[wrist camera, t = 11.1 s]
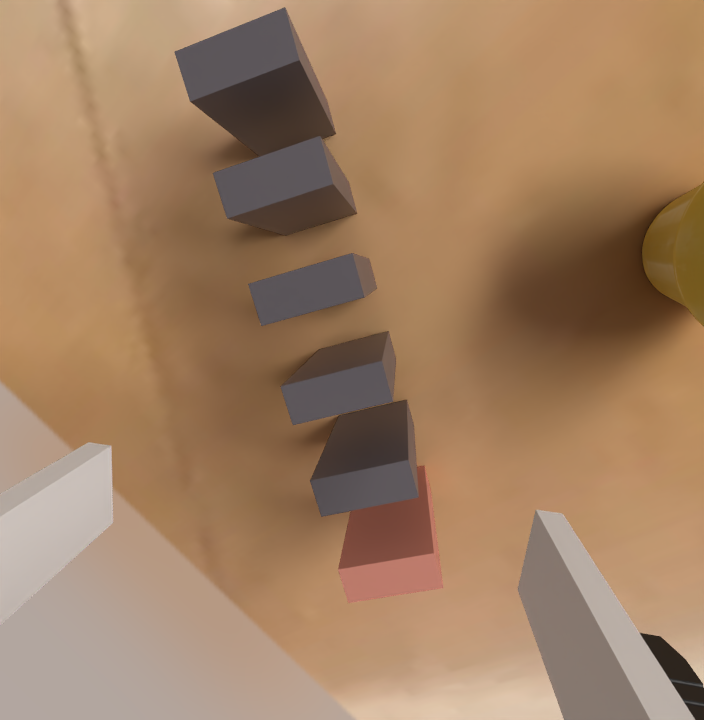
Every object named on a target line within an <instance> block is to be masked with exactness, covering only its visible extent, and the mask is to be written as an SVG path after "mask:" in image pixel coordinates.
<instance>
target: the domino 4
mask: <svg viewBox="0 0 704 720" xmlns="http://www.w3.org/2000/svg"><path fill="white" fill-rule="evenodd" d="M395 367H396V357H395V353H394V349H393V346H392V342H391V338H390V334H389V331H387V332H383V333H380V334H376V335H372V336H368V337H364V338H361V339H357V340H353V341H349V342H345V343H342V344H338V345H334V346H330V347H326V348H323V349H319V350H318V351H317V352H316V353H315V354H314V355H313V356H312V357H311V358H310V359H309V360H308V361H307V362H306V363H305V364H303V365H302V366H301V367H300V368H299V369H298V370H297V371H296V372H295V373H294V374H293V375H292V376H291V377H290V378H289V379H288V380H287V381H286V382H285V383H284V384H283V385H282V386H281V389H282V393H283V396H284V399H285V402H286V405H287V408H288V412H289V415H290V418H291V421H292V424H293V425H296V424H300V423H304V422H308V421H313V420H317V419H321V418H325V417H330V416H334V415H338V414H342V413H346V412H351V411H355V410H359V409H363V408H368V407H372V406H376V405H380V404H385V403H389V402H393V394H394V380H395Z"/></svg>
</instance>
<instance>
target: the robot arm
mask: <svg viewBox="0 0 704 720" xmlns="http://www.w3.org/2000/svg"><path fill="white" fill-rule="evenodd" d="M112 496H113V495H112V453H111V446H110V445H103V444H96V443H90V442H88V443H87V444H85V445H83V446H81V447H80V448H78V449H76V450H74V451H73V452H71V453H69V454H68V455H66V456H64V457H63V458H61V459H59V460H57V461H56V462H54V463H52V464H50V465H49V466H47V467H45V468H44V469H42V470H40V471H38V472H37V473H35V474H33V475H32V476H30V477H28V478H26V479H25V480H23V481H21V482H19V483H18V484H16V485H14V486H13V487H11V488H9V489H7V490H6V491H4V492H2V493H0V625H1V624H2V623H3V622H4V621H6V620H7V619H8V618H9V617H10V616H11V615H12V614H13V613H14V612H16V611H17V610H18V609H19V608H20V607H21V606H22V605H23V604H24V603H25V602H27V601H28V600H29V599H30V598H31V597H32V596H33V595H34V594H35V593H36V592H38V591H39V590H40V589H41V588H42V587H43V586H44V585H45V584H46V583H47V582H48V581H50V580H51V579H52V578H53V577H54V576H55V575H56V574H57V573H58V572H59V571H60V570H62V569H63V568H64V567H65V566H66V565H67V564H68V563H69V562H70V561H71V560H73V559H74V558H75V557H76V556H77V555H78V554H79V553H80V552H81V551H83V550H84V549H85V548H86V547H87V546H88V545H89V544H90V543H91V542H92V541H93V540H95V539H96V538H97V537H98V536H99V535H100V534H101V533H102V532H103V531H104V530H106V529H107V528H108V527H109V526H110V525H111V524H112V523H113V499H112V498H113V497H112ZM518 592H519V595H520V597H521V600H522V603H523V606H524V609H525V611H526V614H527V617H528V620H529V623H530V625H531V628H532V631H533V634H534V637H535V639H536V642H537V645H538V648H539V651H540V653H541V656H542V659H543V662H544V665H545V667H546V670H547V673H548V676H549V679H550V681H551V684H552V687H553V690H554V693H555V695H556V698H557V701H558V704H559V707H560V709H561V712H562V715H563V718H564V720H704V688H703V683H702V682H701V680H700V679H699V678H698V676H697V675H696V673H695V672H694V671H693V669H692V668H691V666H690V665H689V664H688V662H687V661H686V660H685V658H683V657H682V656H681V655H680V654H679V653H678V652H677V651H676V650H675V649H674V648H672V647H671V646H670V645H669V644H668V643H667V642H666V641H665V640H664V639H663V638H661V637H660V636H654V635H649V634H643V633H639V631H638V630H637V628H636V627H635V625H634V624H633V622H632V621H631V619H630V617H629V616H628V614H627V613H626V611H625V610H624V608H623V607H622V605H621V603H620V602H619V600H618V599H617V597H616V596H615V594H614V593H613V591H612V589H611V588H610V586H609V585H608V583H607V582H606V580H605V579H604V577H603V575H602V574H601V572H600V571H599V569H598V568H597V566H596V565H595V563H594V561H593V560H592V558H591V557H590V555H589V554H588V552H587V551H586V549H585V548H584V546H583V544H582V543H581V541H580V540H579V538H578V537H577V535H576V534H575V532H574V530H573V529H572V527H571V526H570V524H569V523H568V521H567V520H566V518H565V516H564V515H563V514H562V513H555V512H548V511H542V510H536V511H535V515H534V520H533V524H532V529H531V533H530V537H529V542H528V546H527V551H526V555H525V559H524V564H523V568H522V573H521V577H520V581H519V586H518Z"/></svg>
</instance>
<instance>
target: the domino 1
mask: <svg viewBox="0 0 704 720" xmlns="http://www.w3.org/2000/svg"><path fill="white" fill-rule="evenodd" d="M175 55H176V58H177V61H178V64H179V68H180V71H181V74H182V77H183V80H184V83H185V87H186V90H187V93H188V96H189V99H190V102H191V103H193V104H194V105H195V106H197V107H198V108H199V109H200V110H202V111H203V112H204V113H205V114H207V115H208V116H209V117H210V118H212V119H213V120H214V121H215V122H217V123H218V124H219V125H221V126H222V127H223V128H224V129H226V130H227V131H228V132H229V133H231V134H232V135H233V136H234V137H236V138H237V139H238V140H239V141H241V142H242V143H243V144H245V145H246V146H247V147H248V148H250V149H251V150H252V151H253V152H255V153H256V154H257V155H258V156H263V155H266V154H269V153H272V152H275V151H278V150H281V149H283V148H286V147H289V146H292V145H295V144H298V143H301V142H304V141H307V140H309V139H312V138H315V137H318V136H321V138H322V139H323V138H325V137H328V136H331V135H334V134H336V132H335V128H334V125H333V121H332V117H331V113H330V110H329V106H328V102H327V99H326V97H325V95H324V93H323V91H322V88H321V86H320V84H319V82H318V79H317V77H316V75H315V73H314V71H313V68H312V66H311V64H310V62H309V59H308V57H307V55H306V53H305V50H304V48H303V46H302V44H301V42H300V39H299V37H298V35H297V33H296V30H295V28H294V26H293V24H292V22H291V19H290V17H289V15H288V13H287V10H286V8H282V9H280V10H277V11H275V12H272V13H270V14H267V15H265V16H262V17H260V18H257V19H255V20H252V21H250V22H247V23H245V24H242V25H240V26H237V27H235V28H233V29H230V30H228V31H225V32H223V33H220V34H218V35H215V36H213V37H210V38H208V39H205V40H203V41H200V42H198V43H195V44H193V45H190V46H188V47H185V48H183V49H180V50H178V51H175Z"/></svg>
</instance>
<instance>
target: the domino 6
mask: <svg viewBox="0 0 704 720" xmlns="http://www.w3.org/2000/svg"><path fill="white" fill-rule="evenodd" d="M417 478H418V493H419V498H414V499H409V500H404V501H399V502H393V503H388V504H383V505H378V506H373V507H368V508H363V509H358V510H353V511H351V512H350V517H349V522H348V526H347V531H346V536H345V540H344V545H343V549H342V554H341V559H340V563H339V568H338V571H339V574H340V577H341V580H342V584H343V587H344V590H345V593H346V596H347V600H348V603H351V602H358V601H364V600H370V599H377V598H383V597H389V596H396V595H402V594H408V593H414V592H421V591H427V590H433V589H440V588H443V581H442V574H441V566H440V558H439V550H438V542H437V534H436V527H435V519H434V511H433V503H432V495H431V489H430V485H429V481H428V478H427V474H426V470H425V466H420V467H417Z"/></svg>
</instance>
